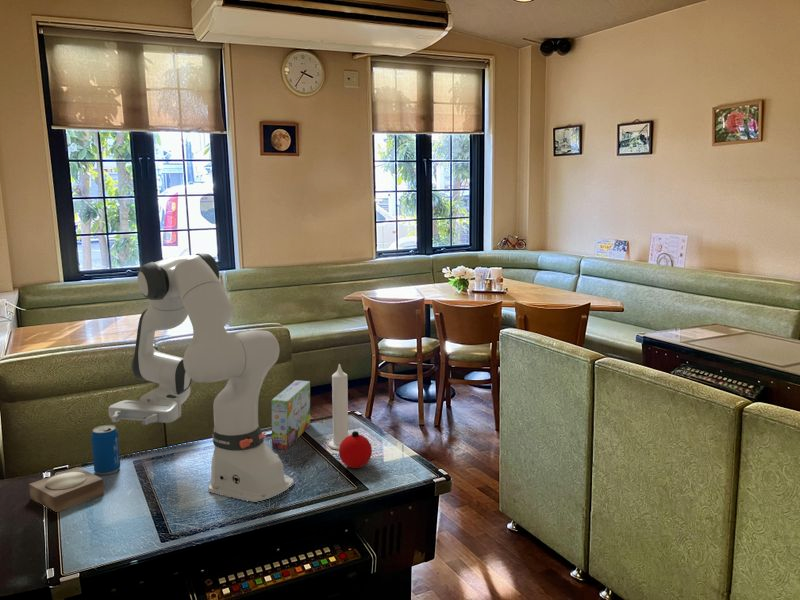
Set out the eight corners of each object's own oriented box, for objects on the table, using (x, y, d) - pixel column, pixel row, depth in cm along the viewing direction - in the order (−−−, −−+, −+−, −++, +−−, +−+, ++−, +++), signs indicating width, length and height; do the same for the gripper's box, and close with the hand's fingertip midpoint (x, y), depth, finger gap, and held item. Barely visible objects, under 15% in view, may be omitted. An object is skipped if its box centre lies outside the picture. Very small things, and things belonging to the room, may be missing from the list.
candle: (324, 445, 191) (322, 363, 187) (342, 438, 195) (341, 359, 191) (338, 452, 186) (337, 368, 181) (357, 445, 190) (356, 364, 186)
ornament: (333, 464, 177) (333, 429, 176) (362, 457, 182) (362, 423, 180) (348, 476, 170) (347, 440, 168) (377, 469, 174) (377, 434, 173)
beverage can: (110, 477, 169) (107, 433, 167) (89, 474, 170) (85, 432, 168) (125, 466, 175) (122, 425, 173) (104, 464, 177) (101, 423, 175)
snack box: (289, 450, 187) (287, 400, 184) (271, 449, 188) (269, 399, 185) (311, 424, 208) (310, 380, 205) (295, 423, 209) (294, 379, 206)
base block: (104, 493, 160) (102, 477, 159) (55, 513, 150) (53, 495, 149) (78, 481, 166) (77, 465, 166) (30, 499, 157) (28, 482, 156)
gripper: (123, 392, 198) (95, 407, 185) (184, 397, 194) (160, 413, 181) (124, 412, 199) (96, 428, 186) (185, 417, 196) (161, 434, 182)
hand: (128, 420), depth 183 cm, fingers open, 8 cm apart
